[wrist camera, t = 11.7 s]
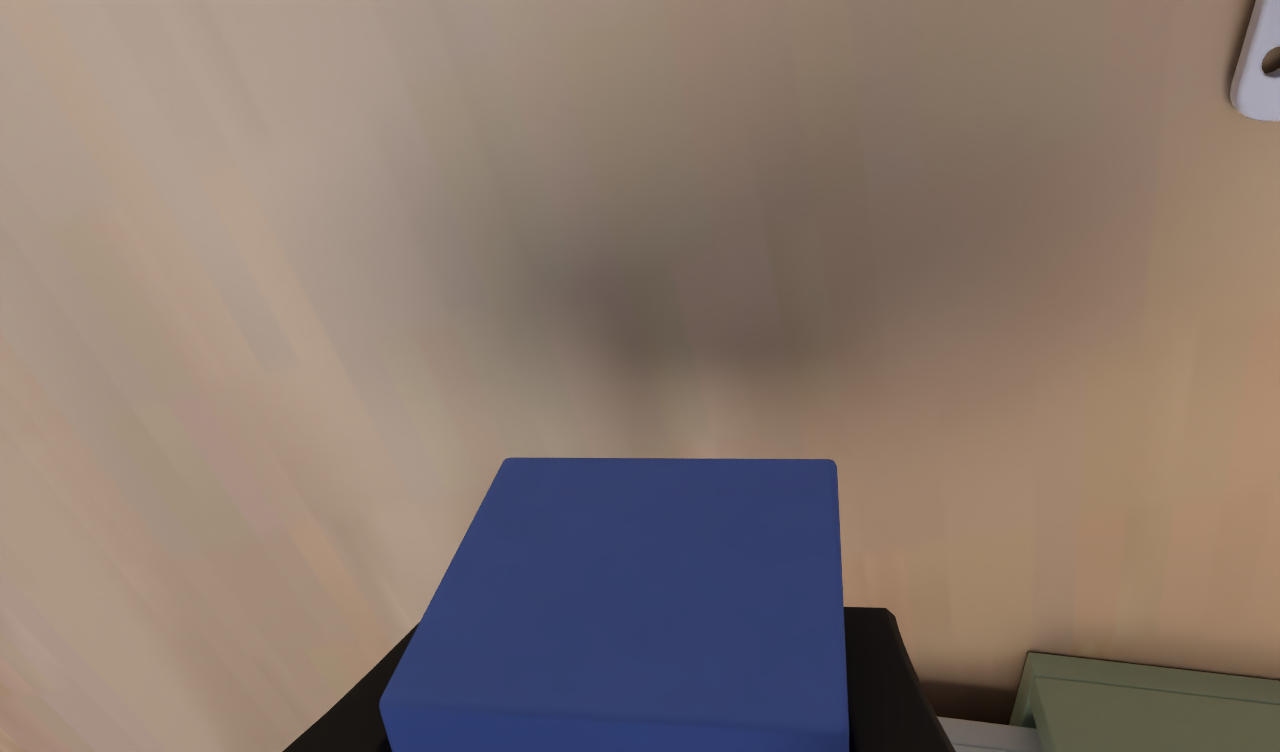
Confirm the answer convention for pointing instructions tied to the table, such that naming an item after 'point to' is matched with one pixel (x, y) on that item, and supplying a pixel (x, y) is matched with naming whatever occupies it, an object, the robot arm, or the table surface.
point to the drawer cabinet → (1144, 708)
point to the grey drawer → (989, 736)
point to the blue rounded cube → (635, 614)
